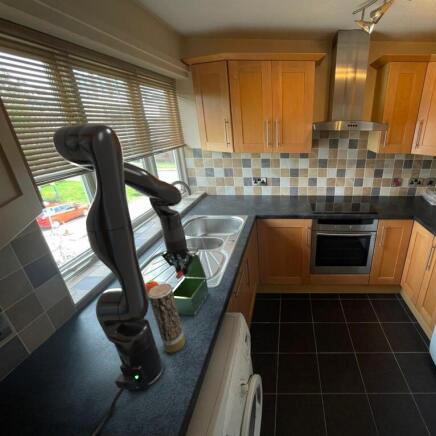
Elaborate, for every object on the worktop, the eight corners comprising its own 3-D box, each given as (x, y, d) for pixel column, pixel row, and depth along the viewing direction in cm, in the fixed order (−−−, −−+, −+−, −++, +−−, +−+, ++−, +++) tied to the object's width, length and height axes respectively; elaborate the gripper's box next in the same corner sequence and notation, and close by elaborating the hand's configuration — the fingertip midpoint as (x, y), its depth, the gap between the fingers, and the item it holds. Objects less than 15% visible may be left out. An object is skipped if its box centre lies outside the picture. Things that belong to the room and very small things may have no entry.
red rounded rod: (180, 279, 95) (179, 275, 94) (175, 279, 95) (174, 275, 94) (190, 268, 102) (189, 264, 101) (185, 267, 102) (184, 264, 101)
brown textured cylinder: (179, 334, 90) (165, 280, 81) (188, 344, 86) (175, 289, 77) (161, 346, 86) (144, 291, 76) (170, 357, 82) (153, 300, 72)
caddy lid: (197, 255, 99) (203, 245, 104) (173, 253, 100) (180, 244, 105) (205, 278, 107) (210, 268, 112) (183, 276, 109) (189, 266, 114)
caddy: (194, 315, 99) (191, 299, 96) (171, 313, 100) (166, 297, 97) (208, 293, 111) (206, 278, 108) (187, 292, 112) (184, 276, 109)
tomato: (147, 289, 114) (143, 277, 112) (163, 287, 116) (159, 275, 113) (142, 300, 107) (138, 288, 104) (159, 298, 109) (155, 285, 106)
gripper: (151, 240, 89) (161, 278, 96) (186, 242, 87) (194, 280, 94) (163, 231, 96) (172, 267, 103) (196, 233, 94) (202, 269, 101)
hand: (182, 273), depth 98 cm, fingers closed on red rounded rod, 2 cm apart
